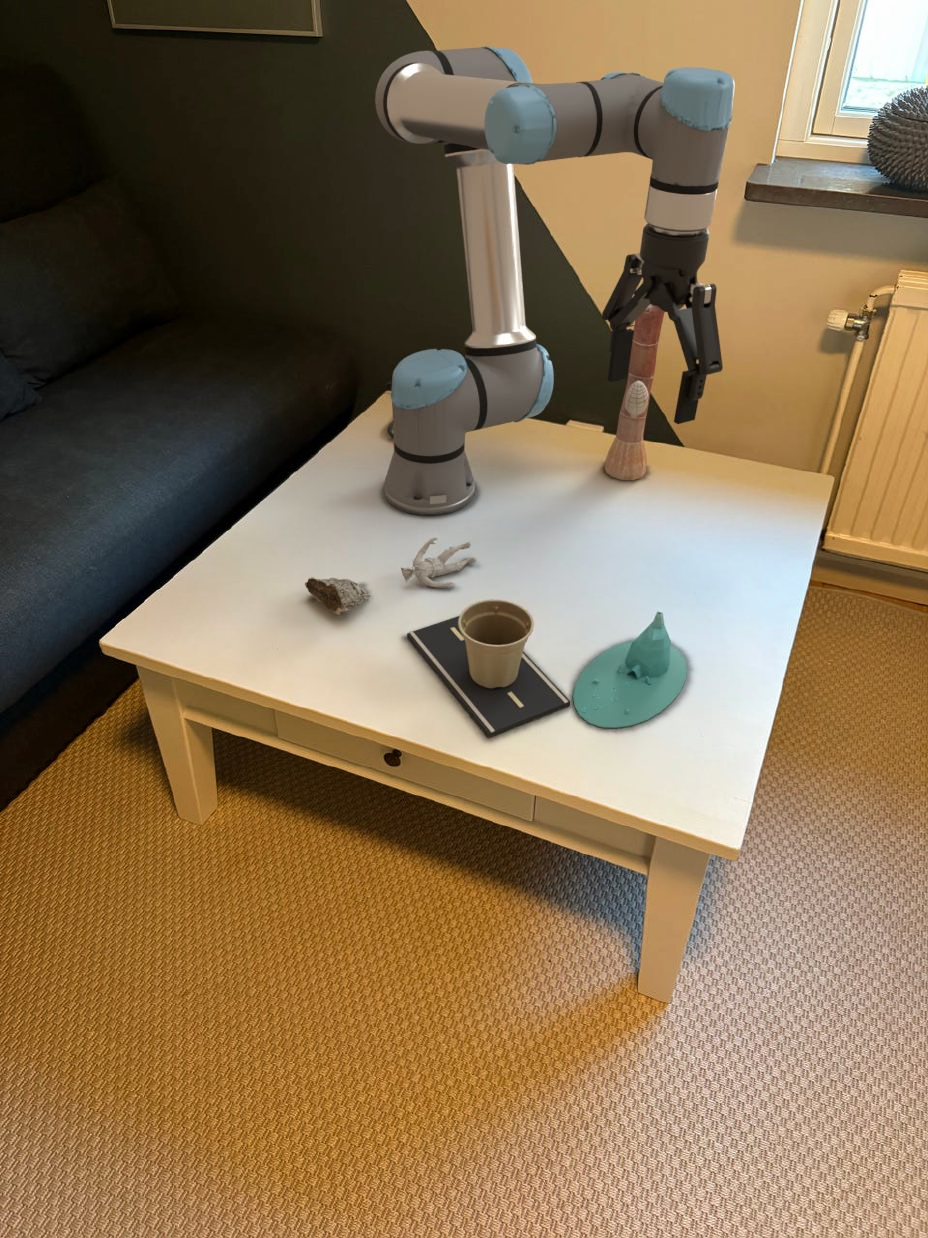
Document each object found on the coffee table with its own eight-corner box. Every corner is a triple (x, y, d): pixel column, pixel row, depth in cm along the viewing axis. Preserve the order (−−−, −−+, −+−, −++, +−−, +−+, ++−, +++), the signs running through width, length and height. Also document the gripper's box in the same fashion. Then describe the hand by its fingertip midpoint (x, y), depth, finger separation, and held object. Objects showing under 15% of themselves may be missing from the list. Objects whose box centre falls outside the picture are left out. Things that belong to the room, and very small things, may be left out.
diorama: (548, 701, 121) (553, 649, 115) (630, 627, 133) (638, 577, 128) (630, 746, 115) (640, 693, 109) (709, 663, 127) (720, 612, 122)
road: (406, 637, 130) (406, 632, 130) (482, 612, 135) (482, 607, 134) (488, 738, 115) (488, 733, 115) (570, 705, 120) (570, 700, 119)
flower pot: (523, 703, 119) (527, 650, 114) (450, 692, 120) (451, 639, 115) (534, 656, 126) (538, 604, 121) (465, 646, 128) (466, 594, 122)
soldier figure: (484, 578, 143) (431, 590, 134) (462, 589, 146) (408, 601, 137) (466, 530, 144) (412, 539, 135) (445, 542, 147) (390, 551, 138)
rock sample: (393, 576, 135) (345, 554, 129) (377, 627, 133) (329, 607, 128) (350, 575, 142) (303, 554, 137) (335, 624, 141) (287, 604, 135)
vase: (633, 486, 164) (657, 314, 145) (595, 474, 167) (614, 305, 148) (658, 461, 171) (684, 295, 152) (621, 450, 174) (642, 286, 155)
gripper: (780, 252, 101) (739, 433, 114) (635, 195, 118) (614, 358, 131) (726, 262, 98) (690, 446, 111) (586, 202, 115) (569, 368, 128)
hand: (649, 399), depth 121 cm, fingers open, 13 cm apart
